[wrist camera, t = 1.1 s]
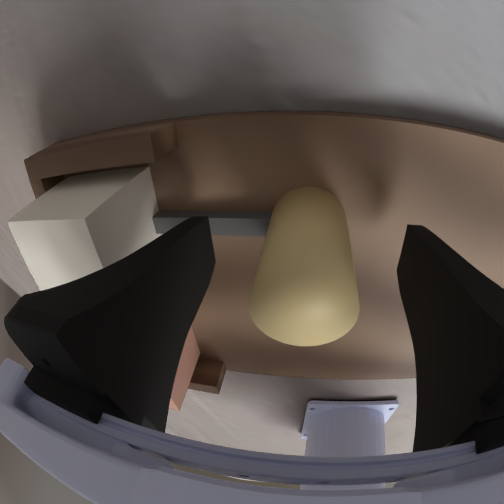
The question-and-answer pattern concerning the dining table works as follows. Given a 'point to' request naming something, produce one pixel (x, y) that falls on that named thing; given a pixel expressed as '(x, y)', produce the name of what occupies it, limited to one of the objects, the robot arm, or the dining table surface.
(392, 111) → the dining table surface
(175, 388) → the untied block
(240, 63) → the dining table surface
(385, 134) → the shelf
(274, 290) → the tethered block
